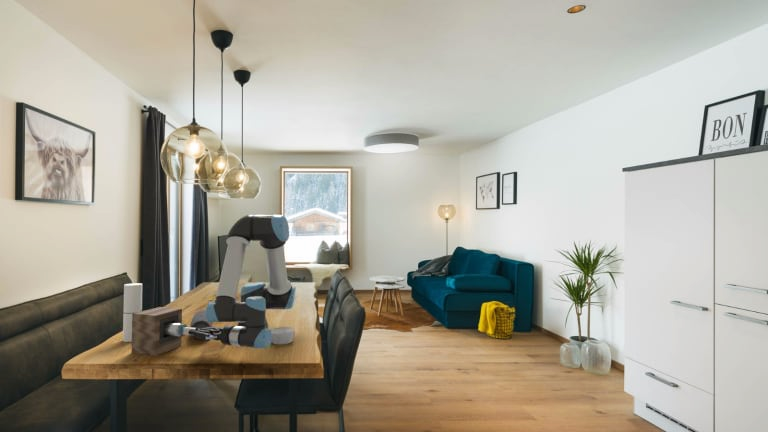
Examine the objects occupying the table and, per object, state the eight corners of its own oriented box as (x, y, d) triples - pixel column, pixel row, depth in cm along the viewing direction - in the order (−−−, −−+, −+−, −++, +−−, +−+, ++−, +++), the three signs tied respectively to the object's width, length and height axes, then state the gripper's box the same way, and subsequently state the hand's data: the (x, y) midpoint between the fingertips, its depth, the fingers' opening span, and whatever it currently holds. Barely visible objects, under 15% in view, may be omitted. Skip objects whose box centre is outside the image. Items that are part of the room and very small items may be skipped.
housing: (181, 345, 179) (182, 308, 179) (155, 355, 165) (156, 315, 165) (158, 343, 182) (159, 306, 182) (131, 352, 169) (132, 313, 169)
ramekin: (270, 346, 180) (271, 334, 180) (267, 339, 190) (267, 328, 190) (296, 343, 184) (296, 332, 184) (291, 337, 194) (292, 326, 194)
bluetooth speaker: (191, 330, 205) (192, 309, 205) (212, 328, 209) (212, 308, 209) (188, 342, 184) (189, 320, 184) (211, 340, 187) (211, 318, 188)
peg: (187, 334, 172) (187, 322, 173) (178, 338, 168) (178, 325, 168) (164, 332, 176) (164, 320, 176) (154, 335, 171) (154, 323, 171)
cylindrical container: (122, 342, 183) (123, 285, 183) (123, 338, 189) (124, 283, 189) (140, 340, 186) (141, 285, 186) (141, 336, 192) (142, 282, 193)
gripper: (223, 349, 157) (172, 344, 163) (243, 340, 169) (195, 335, 176) (223, 330, 157) (172, 325, 164) (244, 322, 170) (196, 318, 176)
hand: (184, 330), depth 170 cm, fingers closed
